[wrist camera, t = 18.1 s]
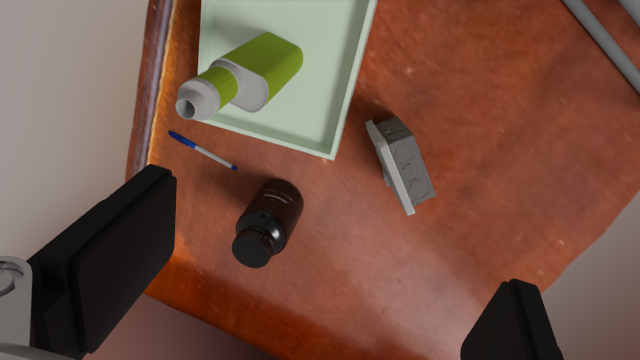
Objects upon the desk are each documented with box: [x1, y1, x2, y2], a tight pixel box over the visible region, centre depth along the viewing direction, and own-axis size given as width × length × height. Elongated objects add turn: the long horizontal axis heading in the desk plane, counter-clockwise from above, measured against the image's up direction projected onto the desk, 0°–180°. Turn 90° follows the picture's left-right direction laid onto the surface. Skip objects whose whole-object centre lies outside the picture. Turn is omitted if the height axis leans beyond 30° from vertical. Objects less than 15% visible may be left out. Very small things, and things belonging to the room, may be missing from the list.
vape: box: [176, 32, 303, 121], centre depth 39 cm, size 4×6×20 cm, turn 66°
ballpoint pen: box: [169, 131, 238, 171], centre depth 57 cm, size 10×1×1 cm, turn 64°
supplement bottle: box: [232, 180, 304, 268], centre depth 53 cm, size 7×7×12 cm
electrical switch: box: [365, 116, 436, 216], centre depth 47 cm, size 9×5×9 cm, turn 25°
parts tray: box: [197, 0, 378, 161], centre depth 47 cm, size 20×18×3 cm
